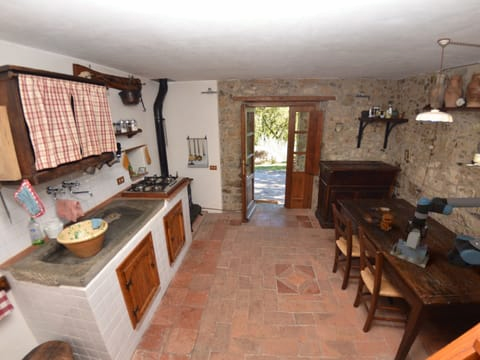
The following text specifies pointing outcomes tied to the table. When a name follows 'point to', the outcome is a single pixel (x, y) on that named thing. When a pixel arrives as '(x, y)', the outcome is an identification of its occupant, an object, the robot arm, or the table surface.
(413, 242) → the wing bar
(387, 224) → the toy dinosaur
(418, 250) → the notched blue block
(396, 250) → the jig board
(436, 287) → the table surface
